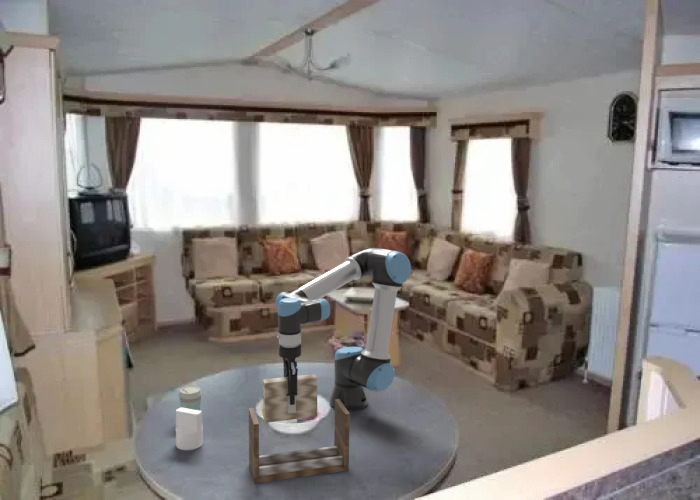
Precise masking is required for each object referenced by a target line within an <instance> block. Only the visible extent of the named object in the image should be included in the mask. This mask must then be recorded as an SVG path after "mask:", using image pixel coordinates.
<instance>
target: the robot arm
mask: <svg viewBox="0 0 700 500" xmlns="http://www.w3.org/2000/svg"><path fill="white" fill-rule="evenodd" d="M411 271H412V265H411V262H410V259H409V258H408V256H407V255H406V254H405V253H404V252H403V253H402V252H401V251H397V250H392V249H386V248H385V249H384V248H380V247H369V248H365V249H363V250H360V251H358V252H356V253H353V254H352V255H349V256H348V257H346V258H345V259H344V260H343V262H342V263H341V264H339V265H337V266H336V267H334V268H332V269H330V270H328V271H326V272H325V273H323V274H321V275H319V276H318V277H316V278H314V279H312V280H310V281H309V282H307V283H305V284H304V285H302V286H299V287H298V288H297V289H295V290H292V291H291V292H289V291H282V292H280V293H278V295H277V296H276V299H275V302H274V303H275V304H274V305H275V307H276V309H277V316H278V317H277V319H278V335H277V336H276V338H277V339H278V344H279V345H278V356H279V357H280V358H282V363H283V377H288V394H286V396H287V397H288V414H289V413H296V395H297V376H298V371H299V369H298V364H297V363H298V362H297V361H296V358H299V357H301V355H302V345H301V344H302V326H304V325H307V324H308V325H309V324H313V323H317V322H321V321H323V320H327V319H328V318H329V317H330V315H331V305H330V302H328V301H327V300H326V299H325V298H324V297H326V296H328V295H329V294H331V293H333V292H334V291H336V290H338V289H340V288H342V287H343V286H345V285H347V284H348V283H350V282H352V281H353V280H354V281H358V280H360V279H361V278H364V277H366V278H367V277H368V278H369V277H370V278H372V280H371V284H372V285H373V287H374V291H373V293H374V294H373V299H372V305H371V312H370V313H371V314H370V320H369V326H368V331H367V333H368V334H367V339H366V345H365V349H364V348H363V347H360V346H346V347H341V348H339V349H338V348H337V350H336V351H335V353H334V386H333V388H332V392H331V394H330V398H329V404H331V405H332V406H333V407H332V406H331V405H330V406H331V407H332V408H334V407H335V399H340V401H341V402H342V403H343V405H344V406H345V408H346V409H347V410H353V411H358V410H357V409H359V410H362V409H364V408H366V406H367V405H368V397H367V394H366V390H365V389H368V390H369V391H373V392H376V393H381V392H384V391H386V390H387V389H388V388H390V386H391V385H392V383H393V382H394V381H395V375H396V371H395V368H394V365H392V364H391V360H392V359H391V358H392V357H391V355H390V353H389V348H390V347H389V346H390V340H391V334H392V326H393V319H394V313H395V307H396V302H397V301H396V300H397V295H398V291H399V290H401V289H402V288H403V284H404V283H405V282H407V281H408V279H409V278H410V276H411ZM363 407H364V408H363ZM361 408H362V409H361Z"/></svg>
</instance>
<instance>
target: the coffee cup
mask: <svg viewBox="0 0 700 500" xmlns="http://www.w3.org/2000/svg"><path fill="white" fill-rule="evenodd" d="M202 395H203V391H202V389H201V388H200V387H199V386H197V385H195V386H194V385H188V386H184V387H181V389H180V390H179V392H178V397H179V403H180V408H181V407H182V408H188V409H193V410H199V411H201V402H202V401H201V400H202Z"/></svg>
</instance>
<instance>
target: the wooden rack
mask: <svg viewBox="0 0 700 500" xmlns="http://www.w3.org/2000/svg"><path fill="white" fill-rule="evenodd" d="M350 418H351V414H350V411H348V410H347V409H346V408H345V406H344V405H343V403H342V402H341V401H340V399H335V408H334V435H333V436H334V437H333V438H334V440H333V441H334V442H333V443H334V444H333V446H325V447H324V446H323V447H317V448H309V449H302V450H295V451H285V452H277V453H271V454H263V455H260V423H259V420H258V417H257V414H256V411H255V408H254V407H248V464H249V468H250V473H251V475H252V480H253V484H260V483H268V482H275V481H281V480H290V479H297V478H301V477H309V476H317V475H322V474H323V475H325V474H332V473H339V472H344V471H345V472H346V471H349V470H350V428H351V425H350V422H351V419H350Z"/></svg>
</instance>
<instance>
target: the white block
mask: <svg viewBox="0 0 700 500" xmlns="http://www.w3.org/2000/svg"><path fill="white" fill-rule="evenodd" d="M203 444H204V426H203V411H202V410H200V411H199V410H193V409H188V408H182V407H181V406H180V407H179V408H177V409H176V410H175V445H176V446H175V447H176V448H177V449H179V450H181V451H194V450H196V449H199V448H200V447H202V445H203Z"/></svg>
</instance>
